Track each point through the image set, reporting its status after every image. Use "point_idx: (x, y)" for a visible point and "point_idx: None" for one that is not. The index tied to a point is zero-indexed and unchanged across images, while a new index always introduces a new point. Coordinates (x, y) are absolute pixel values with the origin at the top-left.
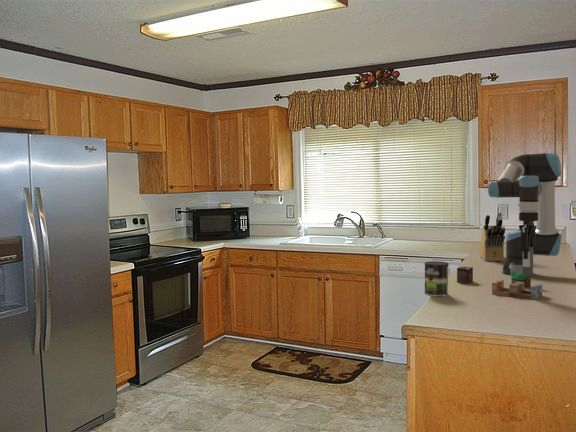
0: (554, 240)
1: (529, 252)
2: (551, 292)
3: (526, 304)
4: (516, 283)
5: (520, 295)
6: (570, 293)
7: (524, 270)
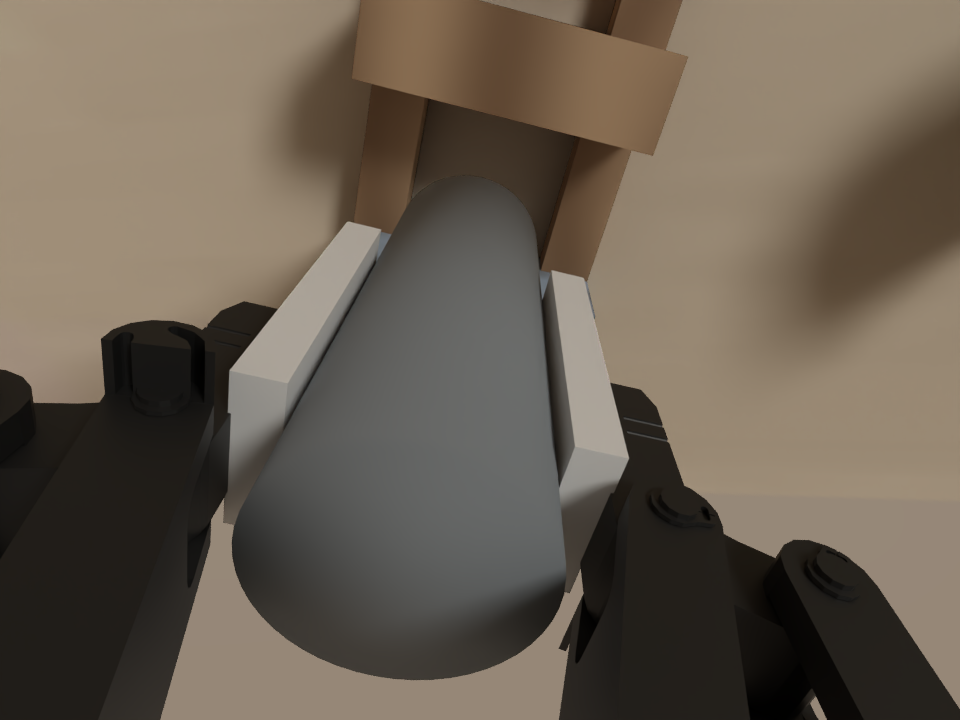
0: None
1: (235, 509)
2: (760, 365)
3: (108, 188)
4: (521, 59)
5: (370, 113)
6: (750, 488)
7: (397, 227)
